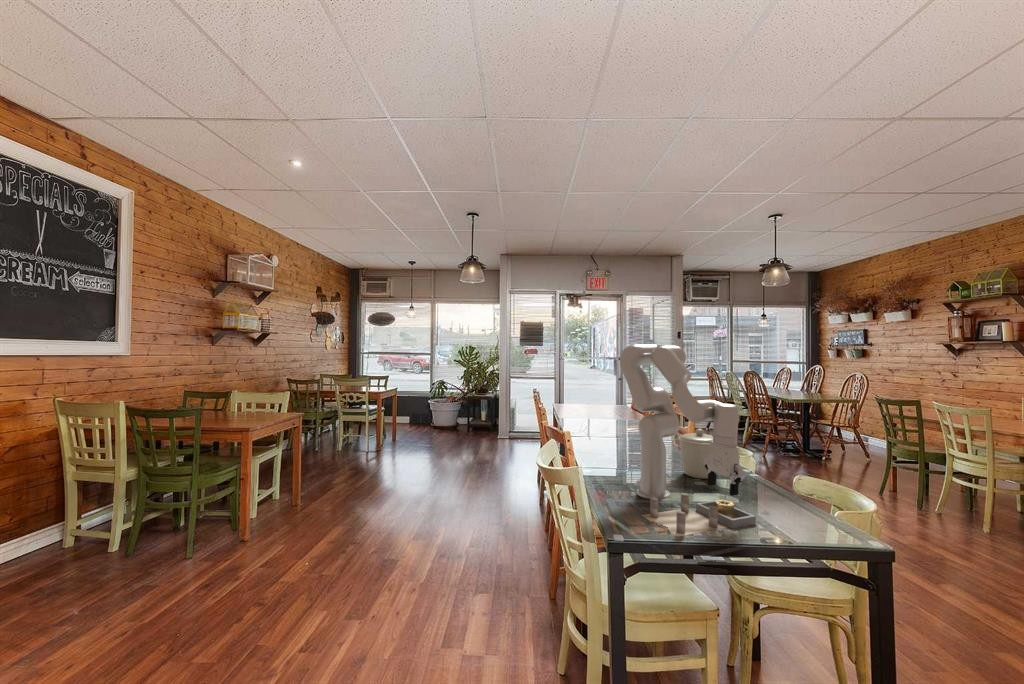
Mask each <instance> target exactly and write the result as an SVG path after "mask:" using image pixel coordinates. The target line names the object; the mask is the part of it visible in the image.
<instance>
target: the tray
mask: <svg viewBox="0 0 1024 684" xmlns="http://www.w3.org/2000/svg"><path fill="white" fill-rule="evenodd" d="M718 500H719V499H717V500H716V499H715V500H709V501H703V502H697V503H695V512H697V513H699V514H701V515H703V516H705V517H707V518H709V506H715V501H718ZM756 518H757V517H756V515H754V514H751V513H749V512H747V511H745V510H743V509H740V508H738V507H735V506H734V519H732V518H729V517H727V516H725V515H723V514H721V513H719V512H718V523H720V524H722V525H724V526H726V527H729V528H731V529H736V528H741V527H746V526H752V525H754V526H756V525H757V524H756V522H757V519H756Z"/></svg>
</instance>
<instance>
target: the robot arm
mask: <svg viewBox="0 0 1024 684" xmlns="http://www.w3.org/2000/svg"><path fill="white" fill-rule="evenodd" d="M686 359H687V355H686V353H685V351H684V349H683V348H682V347H680V346H678V345H665V344H653V343H651V344H648V343H647V344H643V343H641V344H640V343H639V344H638V343H637V344H635V343H634V344H631V345H628V346H626V347H625V348H624V349H623V350H622V352H621V354H620V357H619V367H620V370H621V373H622V375H623V377H624V379H625V381H626V383H627V387H628V391H629V393H630V395H631V398H632V399H631V400H632V401H633V404H634V406H635V408H636V410H637V411H638V412H640V413H650V412H653V414H647V415H644V416H643V417H642V418H641V419H640V420H639V422H638V428H637V429H638V434H639V438H640V440H639V441H640V478H639V479H637V480H636V483H637V484H638V485H639V488H637V489H636V495H638V496H639V497H640V498H643V499H647V500H650V498H657V499H658V500H662V499H669V498H670V497H671V493H670V491H669V490H667V449H666V445H665V442H664V438H669V437H672V436H675V435H677V433H678V432H679V430H680V421H679V417H678V415H677V412H676V409H675V406H676V408H677V409H678V410H679V411H680V412H681V414H682V415H683V416H684V417H685V419H687V420H688V421H690V422H691V423H693V424H700V423H705V422H713V428H712V429H713V430H712V431H713V432H712V434H711V435H712V437H713V441H712V442H711V444H710V447H709V453H708V458H704V463H705V468H706V469H707V473H708V479H707V485H708V486H716V485H717V474H718V475H720V476H723V477H726V478H728V477H729V480H730V482H731V483H729V495H730V496H731V497H733V496H738V495H739V487H740V484H742V482H743V481H744V479H745V478H746V476H747V473H746V472H745V470H743V469H742V468H741V467H740V453H739V451H740V450H739V446H738V433H739V430H738V429H739V415H740V414H739V413H740V411H739V410H740V409H739V406H737V405H735V404H732V403H725V402H724V403H723V402H720V401H717V400H714V399H702V400H701V399H700V400H697V399H696V398H695V397H694V396H693V394H692V393H691V391H690V390H689V387H688V383H689V382H690V381H691V379H692V373H691V371H690V370H689V369H688V368H687V366H686V365H685V363H686ZM648 365H649V366H652V365H654V366H655V367H656V368H657V369H658V371H659V372H660V373H661V375H662V376H663V377H664V378H665V379H666V381H667V382H668V384H669V385H670V387H671V394H672V398H673V401H674V404H675V406H674V404H673V401H672V399H671V396H670V394H669V393H668V392H667V391H666V389H664V388H662V387H658V386H657V387H656V386H653V387H652V385H651V382H650V380H649V376H648V375H647V374H646V372H645V371H644V369H642V368H641V366H648ZM715 472H716V473H715Z"/></svg>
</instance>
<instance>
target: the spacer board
mask: <svg viewBox="0 0 1024 684" xmlns="http://www.w3.org/2000/svg"><path fill="white" fill-rule="evenodd" d="M649 500H650V502H649V505H650V507H649V508H650V510H649V513H647V514H646V513H645V514H642V515H640V516H641V517H643V518H645V519H647V520H648V521H649V522H651V523H653V522H652V521H654V522H660V523H662V524H663V526H666V527H668V529H669V531H670V532H669V533H670V534H672V535H673V534H674V536H675V537H677V536H678V537H677V538H679V537H684V536H690V535H694V534H695V535H696V534H700V533H701V534H702V533H705V532H711V531H716V530H722V529H727V528H728V527H729V526H727V525H725V524H722V523H720V522H718V508H717V507H715V506H709V517H708V516H706V515H704V514H702V513H700V512H698V511H696V510H695V511H694V510H693V509H691V508H689V507H690V495H689V493H684V492H683V493H680V508H679V509H673V510H665V511H660V512H659V499H657V498H650V499H649Z"/></svg>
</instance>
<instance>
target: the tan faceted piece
mask: <svg viewBox="0 0 1024 684" xmlns="http://www.w3.org/2000/svg"><path fill="white" fill-rule="evenodd" d="M717 500H718V501H715V500H714V501H715V507H717V508H718V512H719V513H721V514H723V515H725V516H727V517H729V518H732V519H734V518H735V516H734V507H735V504H734V503H733V502H732V501H728V500H725V499H717Z"/></svg>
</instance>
